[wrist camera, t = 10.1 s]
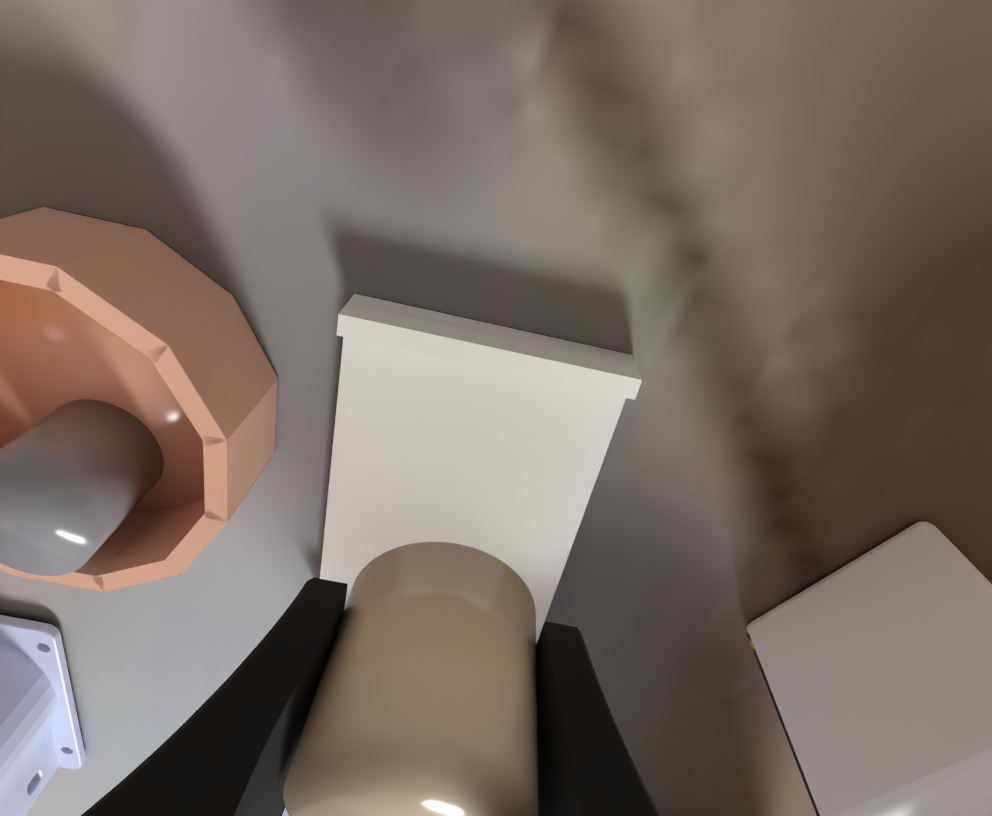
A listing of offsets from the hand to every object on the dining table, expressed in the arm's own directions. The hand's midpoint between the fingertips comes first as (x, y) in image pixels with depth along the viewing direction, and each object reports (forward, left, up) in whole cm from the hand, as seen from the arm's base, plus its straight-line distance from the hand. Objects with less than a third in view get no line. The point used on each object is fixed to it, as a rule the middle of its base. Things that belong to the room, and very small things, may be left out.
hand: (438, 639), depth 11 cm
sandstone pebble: (0, 0, -1) cm, 1 cm away
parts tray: (-3, 0, -8) cm, 9 cm away
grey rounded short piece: (-4, +11, -8) cm, 14 cm away
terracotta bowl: (-1, +11, -8) cm, 14 cm away
